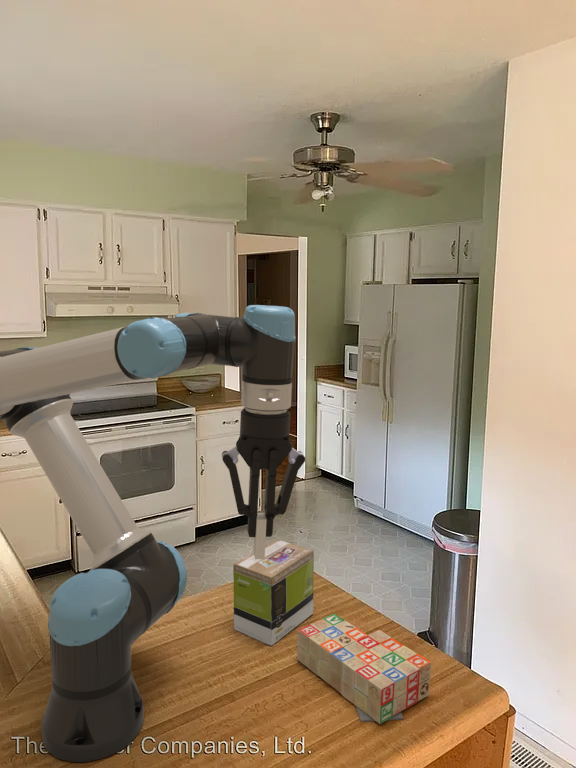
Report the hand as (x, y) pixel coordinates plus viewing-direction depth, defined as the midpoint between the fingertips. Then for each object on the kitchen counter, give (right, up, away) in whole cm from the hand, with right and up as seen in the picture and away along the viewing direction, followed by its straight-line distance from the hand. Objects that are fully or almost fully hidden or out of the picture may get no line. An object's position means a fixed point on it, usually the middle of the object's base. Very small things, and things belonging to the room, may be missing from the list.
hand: (258, 555), depth 95 cm
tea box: (+2, -23, +30) cm, 37 cm away
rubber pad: (+19, -26, +8) cm, 33 cm away
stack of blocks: (+13, -23, +8) cm, 27 cm away
